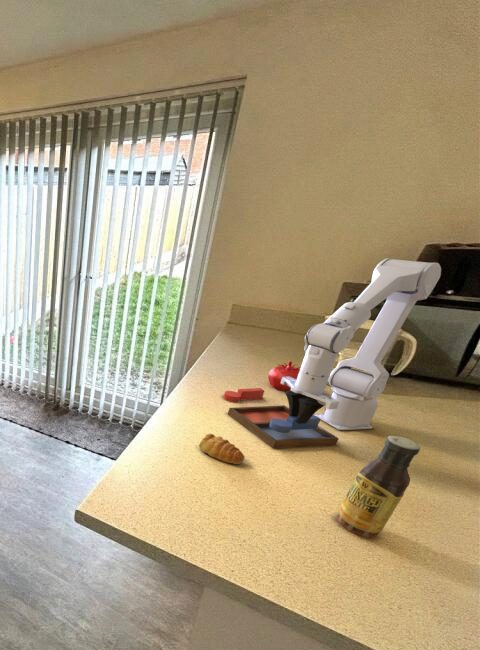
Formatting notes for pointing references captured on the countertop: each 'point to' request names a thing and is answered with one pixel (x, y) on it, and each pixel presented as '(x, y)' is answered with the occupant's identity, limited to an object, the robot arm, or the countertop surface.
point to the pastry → (221, 449)
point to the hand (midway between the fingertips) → (297, 420)
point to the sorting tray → (259, 425)
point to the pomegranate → (282, 375)
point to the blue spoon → (293, 424)
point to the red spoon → (243, 394)
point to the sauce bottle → (378, 488)
